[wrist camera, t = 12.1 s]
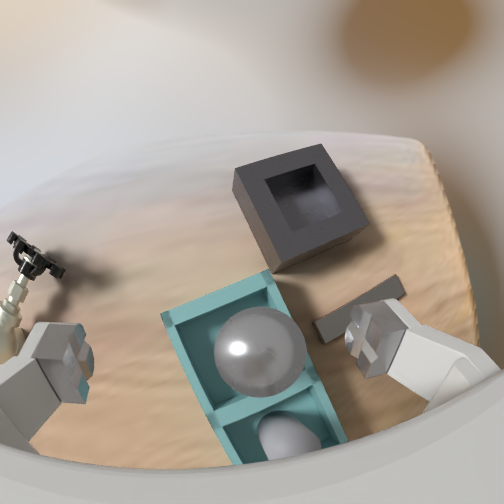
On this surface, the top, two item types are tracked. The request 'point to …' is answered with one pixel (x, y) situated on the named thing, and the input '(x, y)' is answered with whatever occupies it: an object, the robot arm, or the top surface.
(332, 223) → the socket block
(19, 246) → the valve
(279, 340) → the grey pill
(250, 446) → the rack
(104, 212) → the top surface
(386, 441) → the robot arm
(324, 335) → the bar
